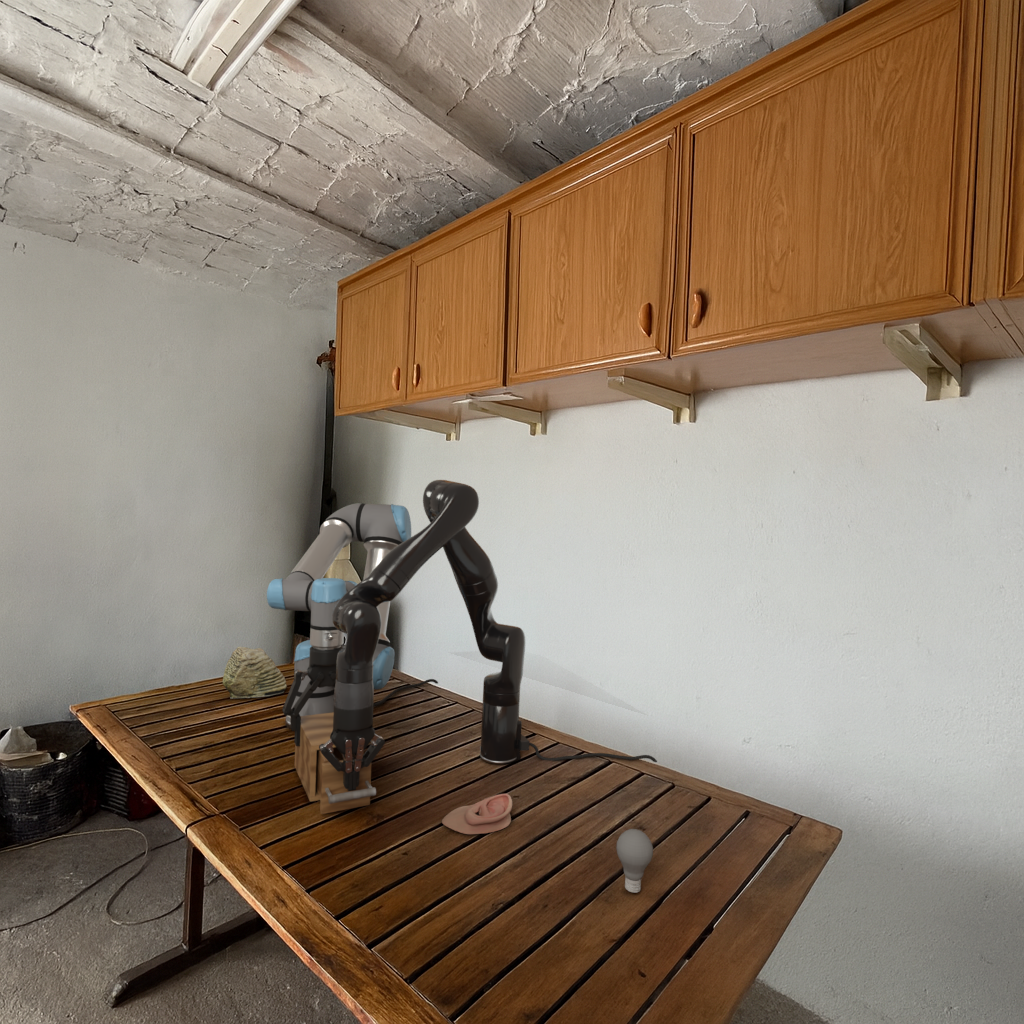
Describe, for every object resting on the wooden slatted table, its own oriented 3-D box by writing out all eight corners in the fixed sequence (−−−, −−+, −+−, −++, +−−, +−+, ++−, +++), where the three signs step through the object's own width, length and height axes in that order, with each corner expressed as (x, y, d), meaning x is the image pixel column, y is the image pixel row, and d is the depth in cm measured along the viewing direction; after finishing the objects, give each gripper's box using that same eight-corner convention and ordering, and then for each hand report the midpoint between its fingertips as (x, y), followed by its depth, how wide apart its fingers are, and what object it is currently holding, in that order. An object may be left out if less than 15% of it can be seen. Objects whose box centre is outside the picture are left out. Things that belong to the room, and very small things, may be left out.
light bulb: (610, 879, 108) (613, 822, 108) (644, 879, 109) (647, 822, 109) (619, 902, 102) (622, 840, 102) (655, 901, 103) (658, 840, 103)
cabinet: (362, 792, 136) (364, 738, 136) (309, 801, 131) (311, 745, 131) (341, 759, 153) (343, 711, 153) (294, 766, 148) (296, 716, 148)
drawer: (377, 817, 124) (379, 768, 124) (326, 827, 119) (328, 776, 119) (348, 770, 144) (350, 728, 144) (304, 778, 140) (306, 734, 140)
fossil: (218, 695, 195) (220, 647, 195) (278, 685, 208) (279, 640, 207) (228, 703, 189) (230, 653, 188) (289, 692, 201) (290, 645, 201)
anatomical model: (437, 809, 122) (454, 783, 133) (436, 829, 122) (453, 802, 133) (504, 819, 119) (516, 792, 131) (503, 840, 119) (515, 811, 131)
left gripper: (275, 653, 137) (271, 754, 138) (381, 645, 148) (377, 739, 149) (270, 645, 144) (267, 741, 144) (372, 639, 155) (368, 728, 155)
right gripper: (322, 712, 117) (320, 804, 117) (392, 703, 123) (389, 791, 124) (315, 699, 123) (312, 787, 124) (381, 691, 130) (378, 775, 130)
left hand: (323, 740), depth 146 cm, fingers closed on cabinet, 11 cm apart
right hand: (351, 788), depth 124 cm, fingers closed
